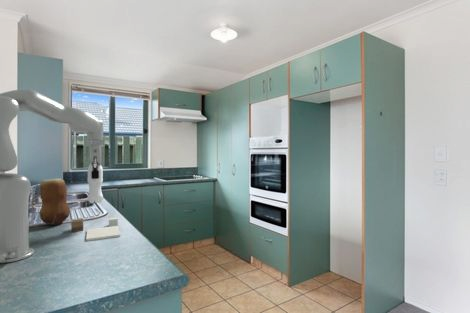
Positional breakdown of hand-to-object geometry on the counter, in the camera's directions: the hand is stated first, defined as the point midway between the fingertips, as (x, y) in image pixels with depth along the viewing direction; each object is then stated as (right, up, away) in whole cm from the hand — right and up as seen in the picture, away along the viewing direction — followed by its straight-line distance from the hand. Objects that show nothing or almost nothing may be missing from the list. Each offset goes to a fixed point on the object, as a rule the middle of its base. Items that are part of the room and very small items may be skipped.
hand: (95, 177), depth 139 cm
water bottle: (0, -13, 0) cm, 13 cm away
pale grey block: (+7, -26, +5) cm, 28 cm away
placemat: (+9, -26, -9) cm, 29 cm away
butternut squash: (-25, -26, +7) cm, 37 cm away
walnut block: (-7, -26, -3) cm, 28 cm away
